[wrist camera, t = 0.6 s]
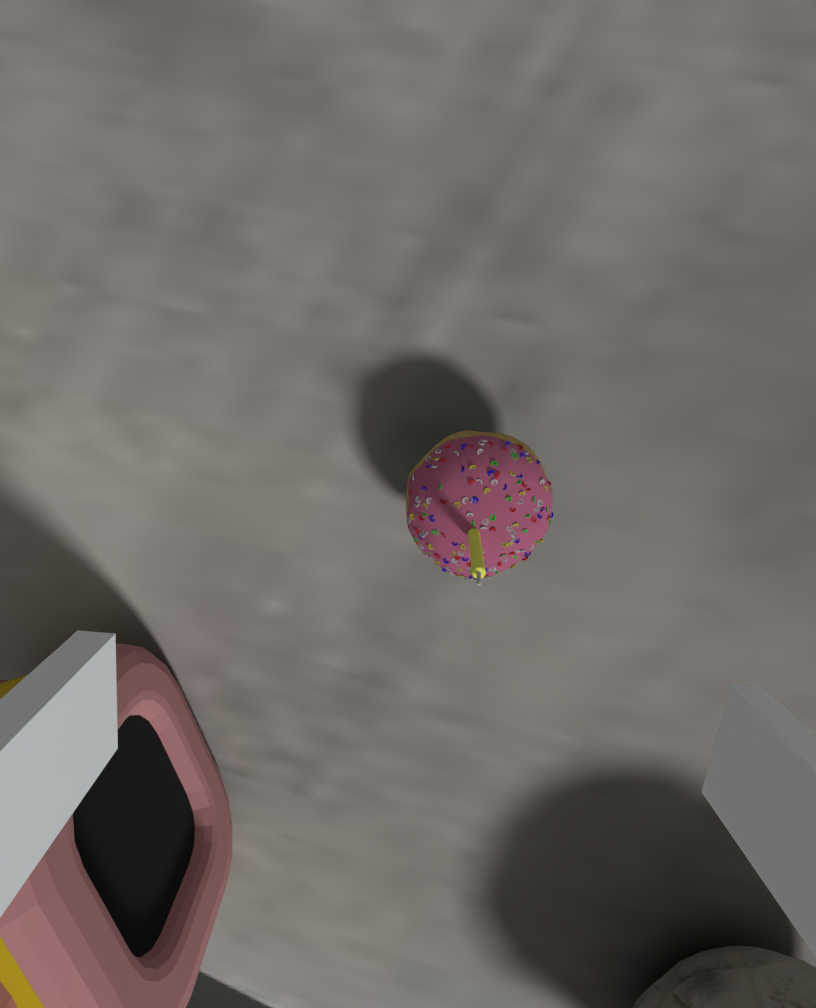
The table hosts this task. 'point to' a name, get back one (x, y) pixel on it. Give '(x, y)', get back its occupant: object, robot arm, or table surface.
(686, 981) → the bowl
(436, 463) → the cupcake
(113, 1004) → the alarm clock
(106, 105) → the table surface
